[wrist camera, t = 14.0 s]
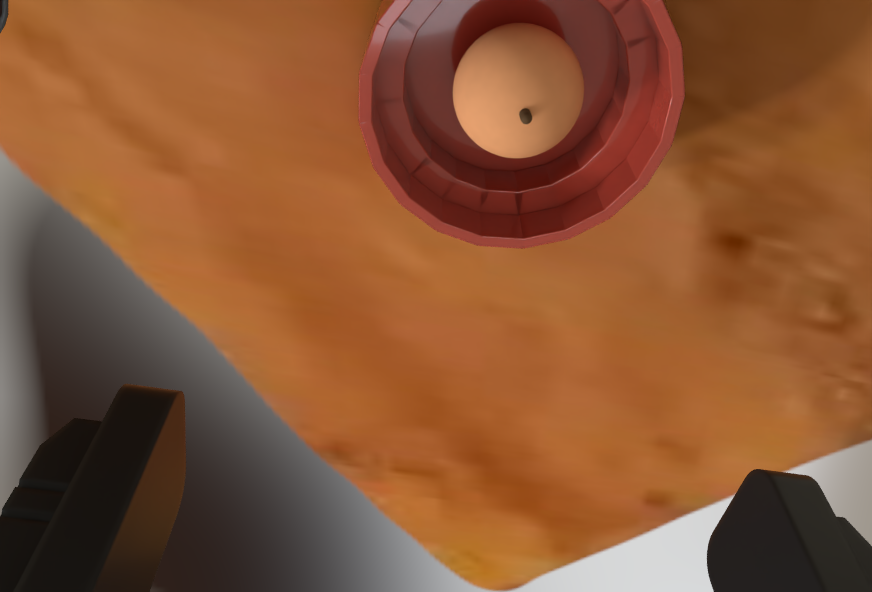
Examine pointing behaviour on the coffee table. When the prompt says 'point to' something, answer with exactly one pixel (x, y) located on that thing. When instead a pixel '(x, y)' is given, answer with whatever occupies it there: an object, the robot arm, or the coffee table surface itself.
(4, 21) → the sundae
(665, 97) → the bowl
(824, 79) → the coffee table surface
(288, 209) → the coffee table surface
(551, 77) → the peach
